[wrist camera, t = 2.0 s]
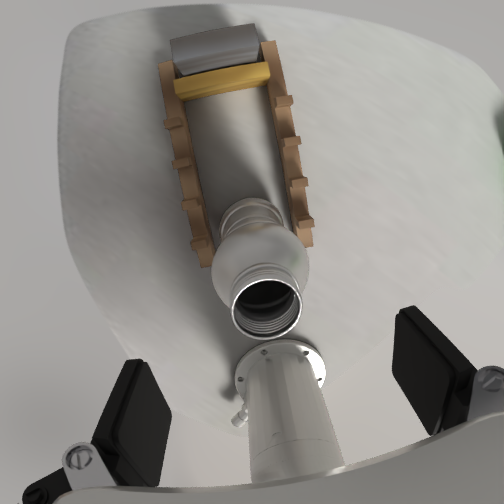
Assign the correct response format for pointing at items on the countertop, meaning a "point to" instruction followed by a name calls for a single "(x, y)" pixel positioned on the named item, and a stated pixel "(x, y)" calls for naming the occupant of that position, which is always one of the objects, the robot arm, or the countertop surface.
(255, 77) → the wooden peg rack
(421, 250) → the countertop surface
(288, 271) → the grey bulging hollow cylinder
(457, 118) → the countertop surface
